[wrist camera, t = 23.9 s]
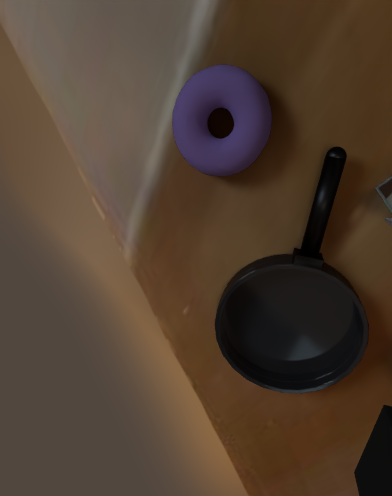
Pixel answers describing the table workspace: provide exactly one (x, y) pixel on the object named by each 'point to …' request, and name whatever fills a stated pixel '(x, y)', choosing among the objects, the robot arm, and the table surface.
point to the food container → (386, 195)
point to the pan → (291, 325)
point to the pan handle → (321, 210)
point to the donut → (241, 108)
